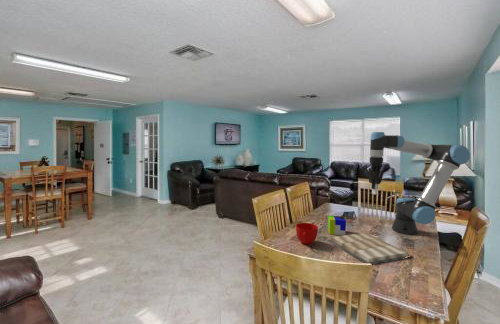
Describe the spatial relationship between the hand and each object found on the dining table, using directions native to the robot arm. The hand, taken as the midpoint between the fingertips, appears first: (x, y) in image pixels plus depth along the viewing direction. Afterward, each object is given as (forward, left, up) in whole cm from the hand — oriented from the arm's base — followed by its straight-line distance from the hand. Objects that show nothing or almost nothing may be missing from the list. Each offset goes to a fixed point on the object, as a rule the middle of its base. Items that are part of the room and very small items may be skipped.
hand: (374, 194), depth 161 cm
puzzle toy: (+16, -15, -29) cm, 36 cm away
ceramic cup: (+46, -4, -29) cm, 54 cm away
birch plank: (+16, +23, -28) cm, 39 cm away
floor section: (+16, +12, -28) cm, 35 cm away
